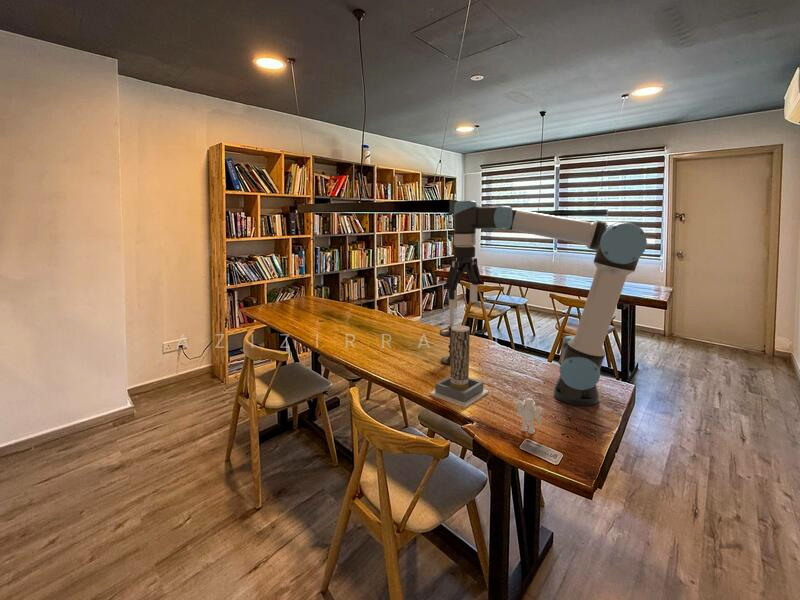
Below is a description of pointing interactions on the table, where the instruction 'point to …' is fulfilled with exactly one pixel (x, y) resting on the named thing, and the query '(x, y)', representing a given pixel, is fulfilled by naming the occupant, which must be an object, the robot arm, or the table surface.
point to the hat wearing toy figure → (528, 413)
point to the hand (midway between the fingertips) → (463, 305)
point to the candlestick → (448, 334)
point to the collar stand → (459, 392)
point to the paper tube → (459, 357)
